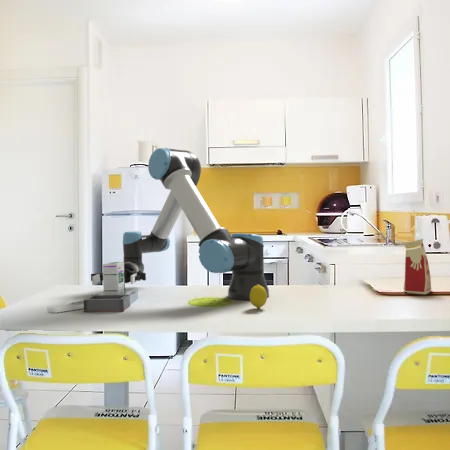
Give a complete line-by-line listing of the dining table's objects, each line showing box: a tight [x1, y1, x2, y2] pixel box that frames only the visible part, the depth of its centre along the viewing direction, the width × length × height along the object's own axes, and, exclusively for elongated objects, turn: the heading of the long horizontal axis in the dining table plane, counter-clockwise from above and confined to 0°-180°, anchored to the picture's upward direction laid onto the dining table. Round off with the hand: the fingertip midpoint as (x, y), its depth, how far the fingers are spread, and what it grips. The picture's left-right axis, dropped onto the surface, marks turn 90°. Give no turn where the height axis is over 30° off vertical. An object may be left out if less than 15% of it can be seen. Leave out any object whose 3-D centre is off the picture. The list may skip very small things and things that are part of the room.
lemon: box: [249, 284, 268, 310], centre depth 158 cm, size 6×6×8 cm
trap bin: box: [83, 294, 131, 313], centre depth 163 cm, size 9×13×4 cm
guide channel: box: [98, 290, 139, 306], centre depth 175 cm, size 14×12×3 cm
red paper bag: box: [402, 238, 432, 295], centre depth 184 cm, size 9×9×20 cm
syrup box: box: [102, 261, 126, 295], centre depth 173 cm, size 6×6×14 cm
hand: (112, 280), depth 172 cm, fingers open, 13 cm apart
